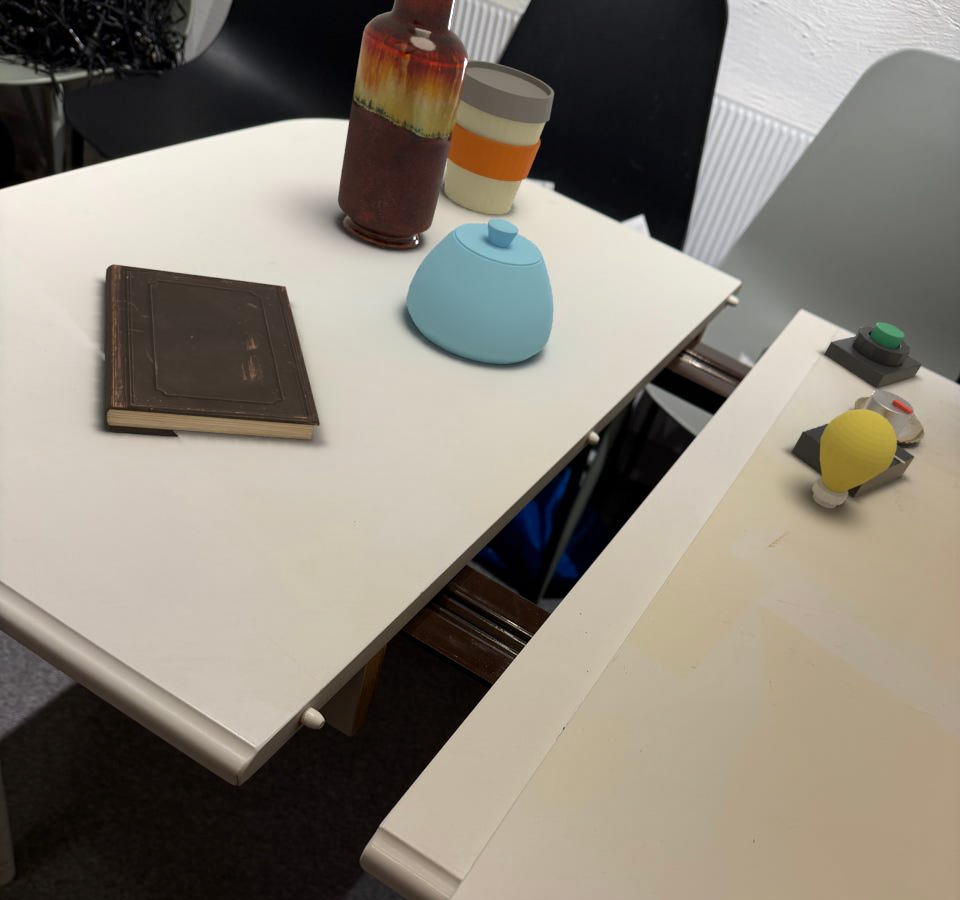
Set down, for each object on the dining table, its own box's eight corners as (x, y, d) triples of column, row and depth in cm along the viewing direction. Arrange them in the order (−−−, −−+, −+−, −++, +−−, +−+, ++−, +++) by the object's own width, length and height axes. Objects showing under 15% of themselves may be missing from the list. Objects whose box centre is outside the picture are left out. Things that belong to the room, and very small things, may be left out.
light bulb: (863, 532, 92) (922, 443, 85) (799, 517, 90) (853, 426, 84) (843, 491, 97) (897, 404, 90) (782, 477, 95) (832, 388, 89)
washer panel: (842, 434, 106) (857, 409, 104) (907, 479, 102) (924, 454, 100) (786, 454, 99) (801, 428, 97) (853, 502, 95) (870, 476, 93)
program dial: (841, 431, 99) (865, 390, 96) (863, 424, 102) (888, 384, 99) (875, 455, 97) (901, 414, 94) (897, 448, 100) (923, 408, 97)
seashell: (839, 441, 109) (913, 459, 106) (846, 417, 106) (921, 435, 103) (860, 405, 114) (930, 422, 111) (866, 382, 111) (938, 399, 108)
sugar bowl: (571, 363, 101) (609, 256, 94) (461, 381, 92) (493, 265, 85) (484, 293, 108) (513, 188, 100) (374, 304, 99) (396, 190, 92)
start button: (878, 333, 121) (885, 320, 120) (902, 348, 120) (909, 335, 118) (864, 337, 119) (871, 323, 118) (887, 352, 117) (895, 338, 116)
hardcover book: (283, 308, 94) (285, 286, 92) (315, 446, 79) (319, 422, 77) (105, 287, 88) (105, 262, 87) (104, 431, 73) (104, 404, 71)
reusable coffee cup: (424, 174, 131) (449, 51, 121) (511, 192, 134) (543, 74, 124) (437, 212, 122) (466, 83, 112) (531, 231, 126) (567, 107, 116)
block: (862, 347, 126) (878, 319, 124) (912, 379, 123) (930, 351, 120) (822, 357, 120) (838, 328, 118) (874, 391, 117) (891, 361, 114)
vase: (340, 205, 116) (381, -53, 98) (430, 230, 117) (486, -19, 100) (326, 240, 108) (368, -34, 90) (423, 266, 109) (482, 2, 92)
